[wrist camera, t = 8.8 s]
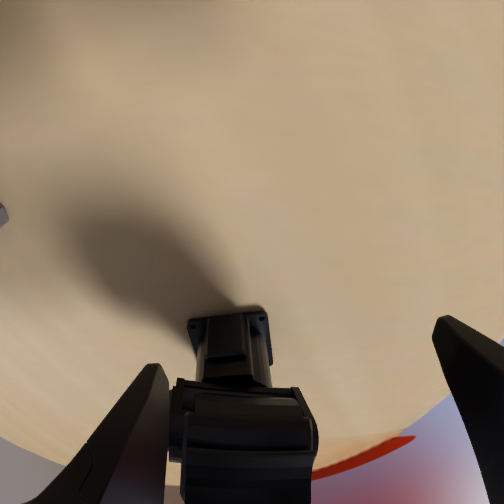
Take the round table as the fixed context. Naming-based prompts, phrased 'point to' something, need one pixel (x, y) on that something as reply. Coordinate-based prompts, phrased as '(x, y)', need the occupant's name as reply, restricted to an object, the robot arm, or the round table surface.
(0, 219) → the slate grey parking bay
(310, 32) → the round table surface
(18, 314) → the round table surface
